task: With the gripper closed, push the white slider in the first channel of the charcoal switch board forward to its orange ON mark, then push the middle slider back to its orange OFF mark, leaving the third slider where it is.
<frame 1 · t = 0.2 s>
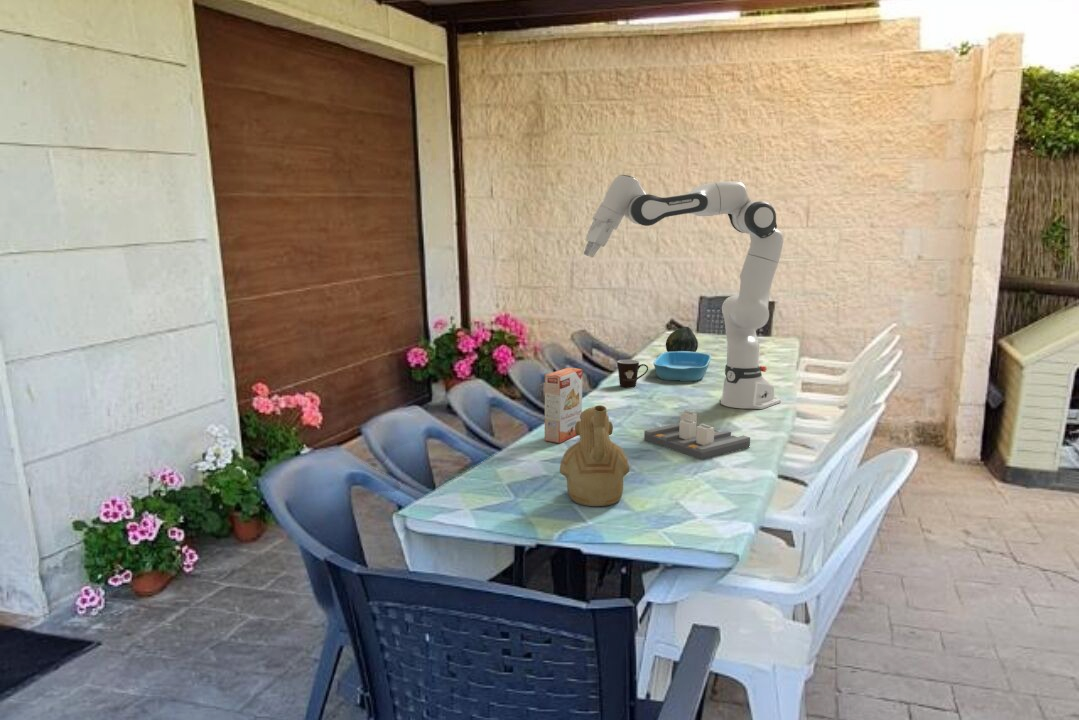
hand: (587, 255, 267), 54 cm above the table, tool tilted 30°, fingers open, 8 cm apart
coffee mug: (631, 386, 314), on the table
squash: (681, 355, 379), on the table
cracker box: (564, 437, 244), on the table
switch board: (696, 443, 236), on the table
casserole dish: (682, 375, 336), on the table
tab 3: (705, 434, 228), point 5 cm above the table, slide at 7.2 cm
tab 2: (687, 429, 233), point 5 cm above the table, slide at 7.2 cm
tab 1: (688, 420, 243), point 5 cm above the table, slide at 0.0 cm
ceramic vessel: (594, 499, 192), on the table
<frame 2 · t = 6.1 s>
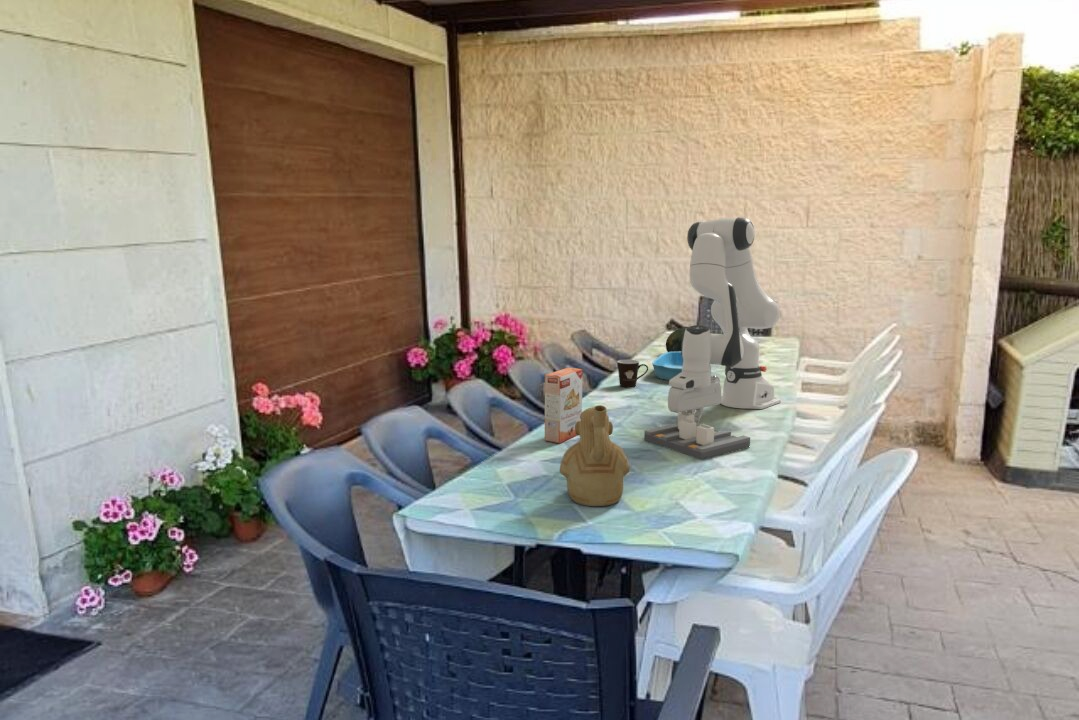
hand: (694, 422, 245), 4 cm above the table, tool pointing down, fingers closed
tab 1: (685, 420, 242), point 5 cm above the table, slide at 1.1 cm, touching gripper
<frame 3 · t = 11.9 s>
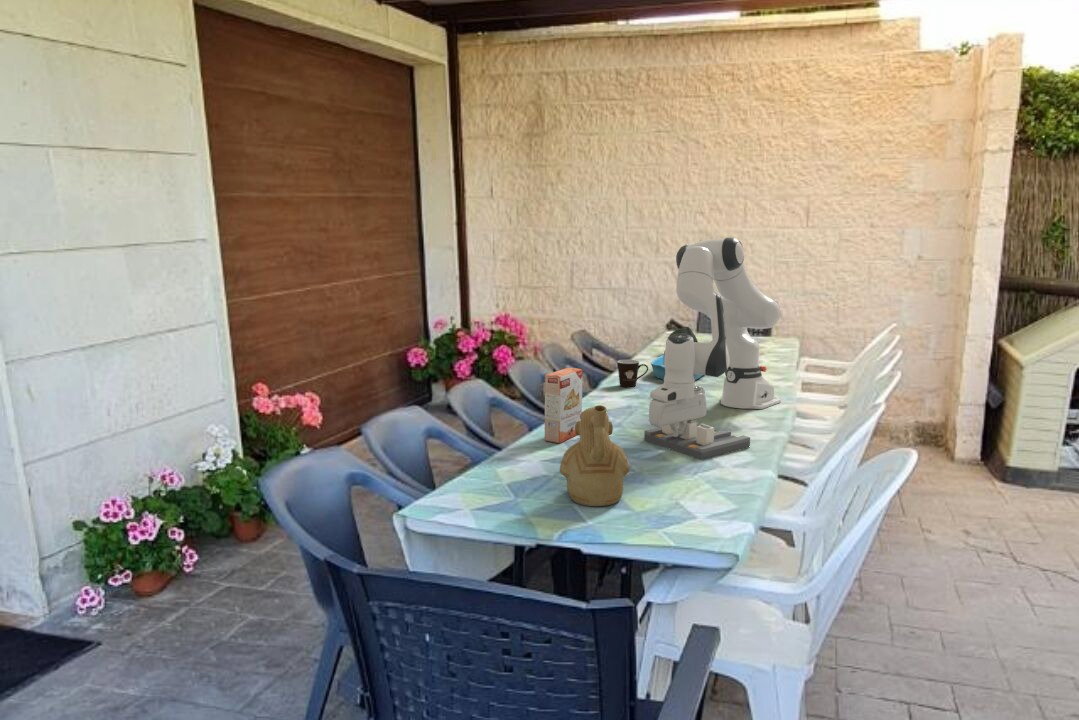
hand: (678, 435, 232), 4 cm above the table, tool pointing down, fingers closed
tab 2: (688, 429, 233), point 5 cm above the table, slide at 7.0 cm, touching gripper
tab 1: (670, 424, 239), point 5 cm above the table, slide at 7.6 cm
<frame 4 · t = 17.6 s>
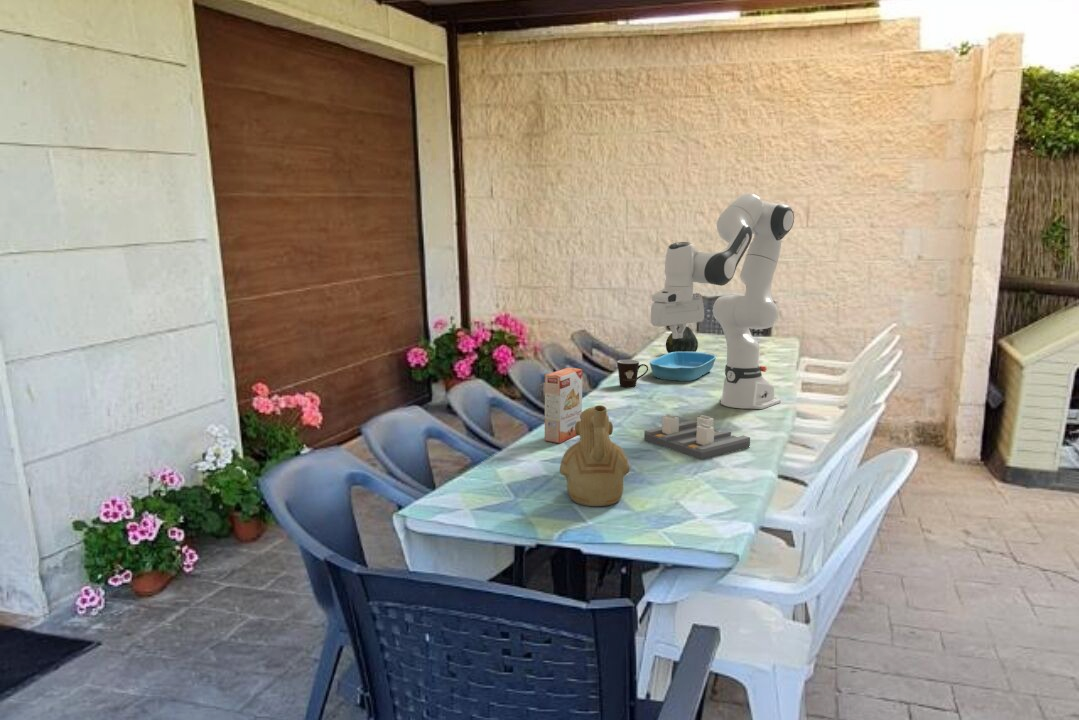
hand: (677, 338, 249), 29 cm above the table, tool pointing down, fingers closed
tab 2: (705, 425, 237), point 5 cm above the table, slide at -0.1 cm
at the end: tab 1 slide at 7.6 cm; tab 2 slide at -0.1 cm; tab 3 slide at 7.2 cm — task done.
